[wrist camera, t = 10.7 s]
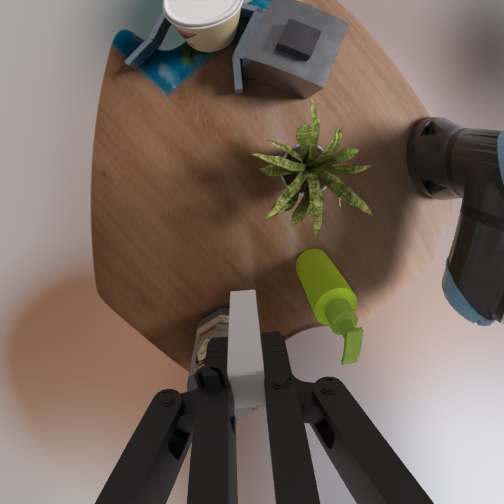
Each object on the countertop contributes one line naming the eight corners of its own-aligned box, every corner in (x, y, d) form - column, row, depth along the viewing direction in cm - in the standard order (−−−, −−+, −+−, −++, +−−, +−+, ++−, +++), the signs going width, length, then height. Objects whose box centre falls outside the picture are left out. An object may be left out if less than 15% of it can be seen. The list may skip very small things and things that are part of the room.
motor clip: (298, 117, 36) (319, 108, 26) (131, 69, 31) (100, 51, 21) (331, 35, 30) (358, 8, 20) (172, -9, 26) (156, -43, 16)
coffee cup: (173, 22, 29) (152, -13, 18) (230, 3, 28) (228, -37, 17) (190, 66, 32) (172, 38, 21) (250, 45, 31) (255, 11, 20)
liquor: (260, 331, 50) (276, 481, 22) (223, 352, 52) (217, 493, 24) (229, 299, 47) (224, 463, 19) (191, 323, 49) (163, 474, 21)
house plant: (230, 128, 36) (224, 117, 21) (319, 103, 35) (366, 83, 20) (262, 217, 42) (275, 261, 27) (344, 190, 41) (398, 219, 25)
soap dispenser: (296, 287, 47) (326, 371, 28) (294, 250, 44) (330, 326, 26) (328, 282, 47) (372, 361, 28) (328, 246, 44) (382, 315, 26)
